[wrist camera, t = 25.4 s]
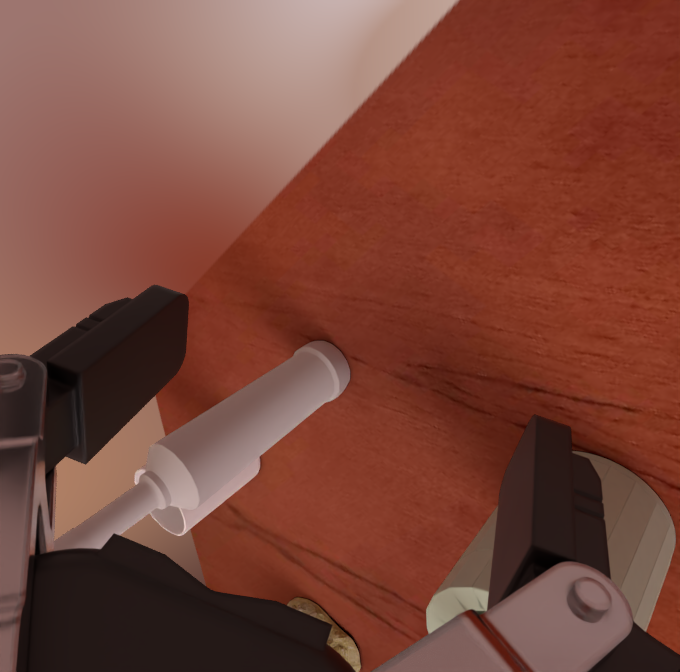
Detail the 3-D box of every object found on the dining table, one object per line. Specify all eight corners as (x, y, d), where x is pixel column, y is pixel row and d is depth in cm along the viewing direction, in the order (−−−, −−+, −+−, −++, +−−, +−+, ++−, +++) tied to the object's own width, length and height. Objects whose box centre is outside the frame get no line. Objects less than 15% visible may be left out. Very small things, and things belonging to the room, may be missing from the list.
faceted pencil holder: (491, 487, 45) (397, 614, 36) (585, 424, 37) (495, 563, 29) (595, 594, 43) (522, 755, 34) (715, 549, 35) (661, 739, 27)
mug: (259, 488, 67) (185, 549, 60) (210, 449, 70) (136, 502, 63) (267, 414, 60) (185, 474, 52) (213, 373, 63) (128, 425, 56)
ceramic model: (307, 585, 70) (246, 651, 63) (374, 662, 67) (318, 739, 61) (271, 615, 80) (215, 675, 73) (329, 683, 77) (276, 751, 71)
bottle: (362, 374, 48) (86, 591, 31) (334, 401, 52) (74, 608, 35) (321, 326, 49) (29, 514, 32) (296, 357, 53) (23, 539, 36)
